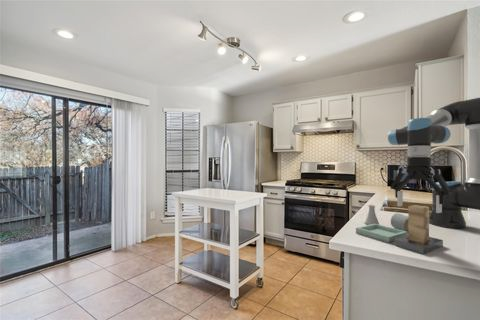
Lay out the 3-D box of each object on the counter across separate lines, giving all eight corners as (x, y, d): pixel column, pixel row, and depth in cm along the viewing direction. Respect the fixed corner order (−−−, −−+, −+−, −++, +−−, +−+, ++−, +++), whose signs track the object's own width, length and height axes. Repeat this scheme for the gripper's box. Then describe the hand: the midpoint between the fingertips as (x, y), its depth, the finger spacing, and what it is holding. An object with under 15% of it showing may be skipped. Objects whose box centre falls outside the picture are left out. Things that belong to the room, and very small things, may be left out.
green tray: (374, 228, 117) (374, 223, 117) (407, 237, 104) (407, 231, 104) (355, 233, 110) (355, 227, 110) (388, 243, 97) (388, 237, 97)
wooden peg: (414, 242, 97) (414, 204, 97) (428, 246, 93) (429, 207, 93) (408, 244, 95) (408, 206, 95) (422, 249, 90) (422, 208, 90)
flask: (377, 222, 128) (377, 204, 128) (381, 226, 121) (381, 207, 121) (362, 221, 130) (362, 204, 130) (366, 225, 123) (366, 206, 123)
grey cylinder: (405, 233, 109) (405, 217, 109) (390, 228, 117) (390, 213, 117) (422, 232, 112) (422, 216, 112) (406, 227, 120) (406, 212, 120)
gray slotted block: (414, 238, 102) (414, 232, 102) (442, 246, 93) (442, 239, 93) (394, 245, 94) (394, 238, 94) (423, 254, 86) (423, 247, 86)
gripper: (382, 156, 103) (381, 204, 103) (454, 156, 81) (453, 216, 81) (391, 157, 106) (390, 203, 106) (463, 156, 84) (462, 214, 84)
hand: (418, 209), depth 94 cm, fingers open, 13 cm apart
